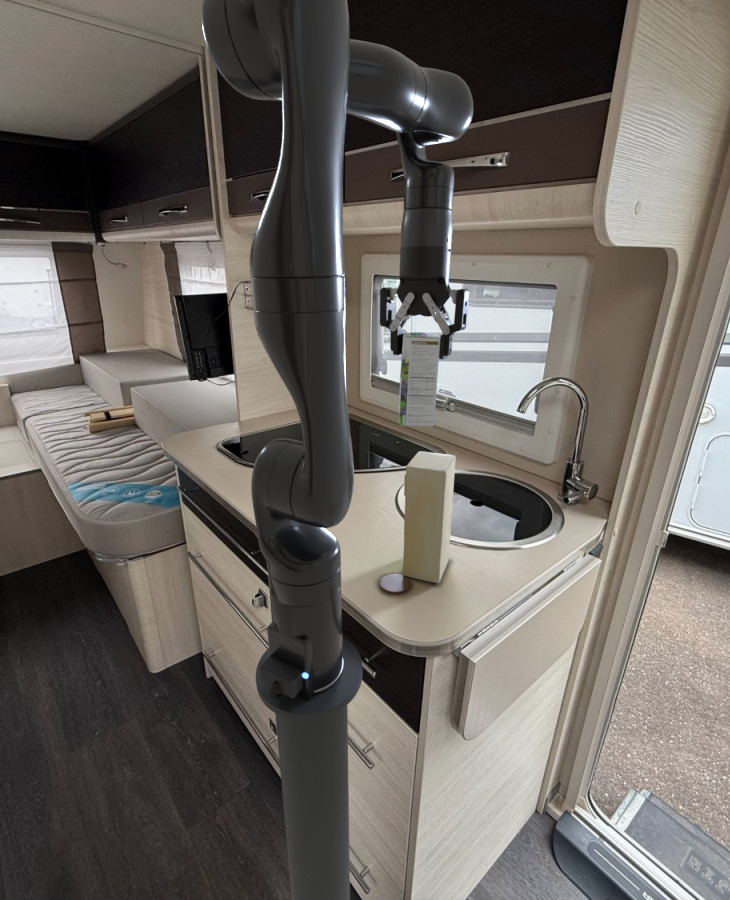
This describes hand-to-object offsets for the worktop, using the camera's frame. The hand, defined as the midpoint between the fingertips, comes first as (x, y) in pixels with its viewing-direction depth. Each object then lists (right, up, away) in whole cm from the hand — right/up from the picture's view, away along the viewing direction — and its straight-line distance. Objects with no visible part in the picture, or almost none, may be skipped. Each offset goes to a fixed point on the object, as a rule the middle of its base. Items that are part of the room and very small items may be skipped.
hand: (420, 356), depth 75 cm
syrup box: (0, -11, +4) cm, 11 cm away
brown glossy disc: (-4, -38, +5) cm, 39 cm away
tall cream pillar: (+2, -37, +10) cm, 38 cm away
